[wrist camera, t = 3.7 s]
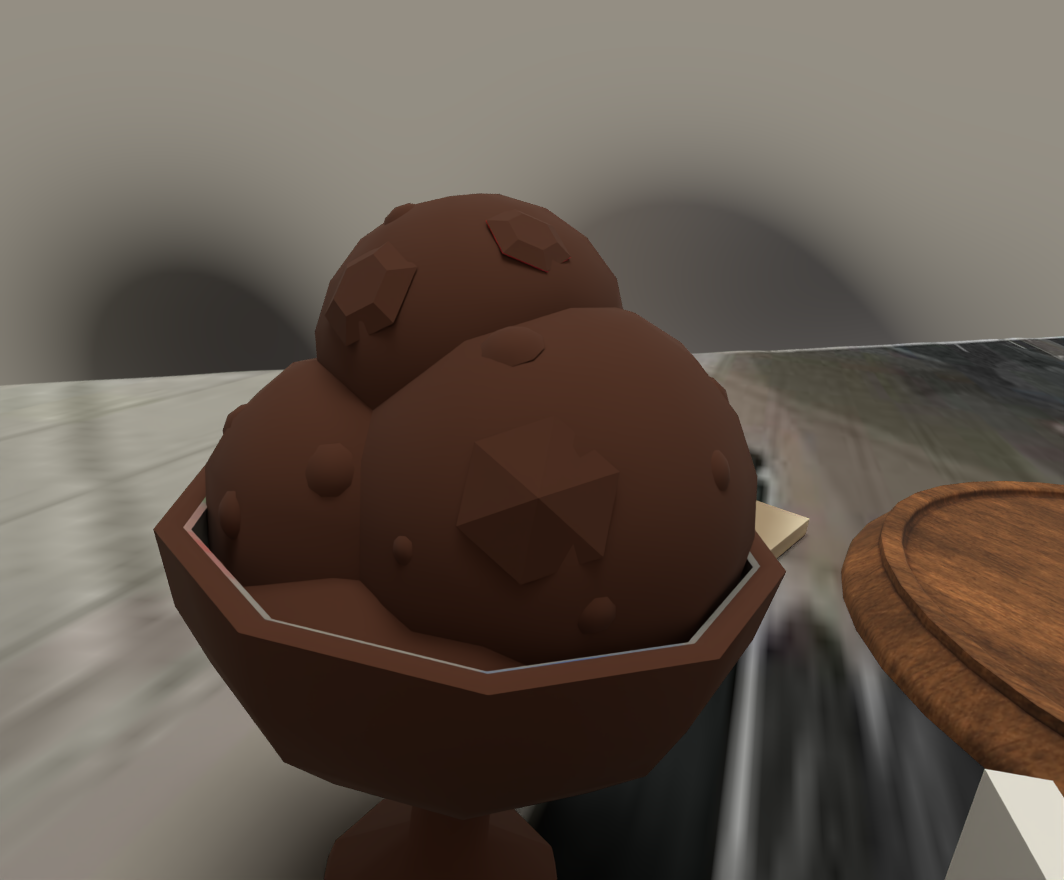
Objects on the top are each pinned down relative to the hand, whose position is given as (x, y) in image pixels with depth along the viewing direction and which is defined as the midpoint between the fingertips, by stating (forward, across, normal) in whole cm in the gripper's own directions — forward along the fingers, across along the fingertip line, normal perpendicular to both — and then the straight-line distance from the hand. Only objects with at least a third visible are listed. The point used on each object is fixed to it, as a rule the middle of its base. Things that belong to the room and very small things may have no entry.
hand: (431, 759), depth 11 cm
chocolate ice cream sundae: (+6, 0, -9) cm, 10 cm away
